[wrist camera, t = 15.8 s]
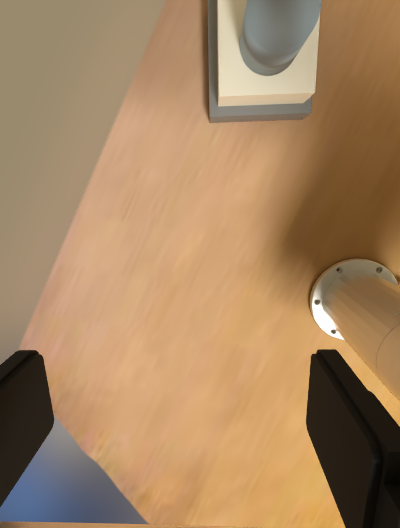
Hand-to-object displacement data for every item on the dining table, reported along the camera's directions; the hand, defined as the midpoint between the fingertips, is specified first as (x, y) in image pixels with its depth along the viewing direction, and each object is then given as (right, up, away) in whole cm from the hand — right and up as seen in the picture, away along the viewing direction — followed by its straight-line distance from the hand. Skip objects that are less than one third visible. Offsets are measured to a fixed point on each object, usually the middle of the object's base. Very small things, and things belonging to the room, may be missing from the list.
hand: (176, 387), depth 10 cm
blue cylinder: (+8, +27, +20) cm, 34 cm away
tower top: (+8, +28, +23) cm, 37 cm away
